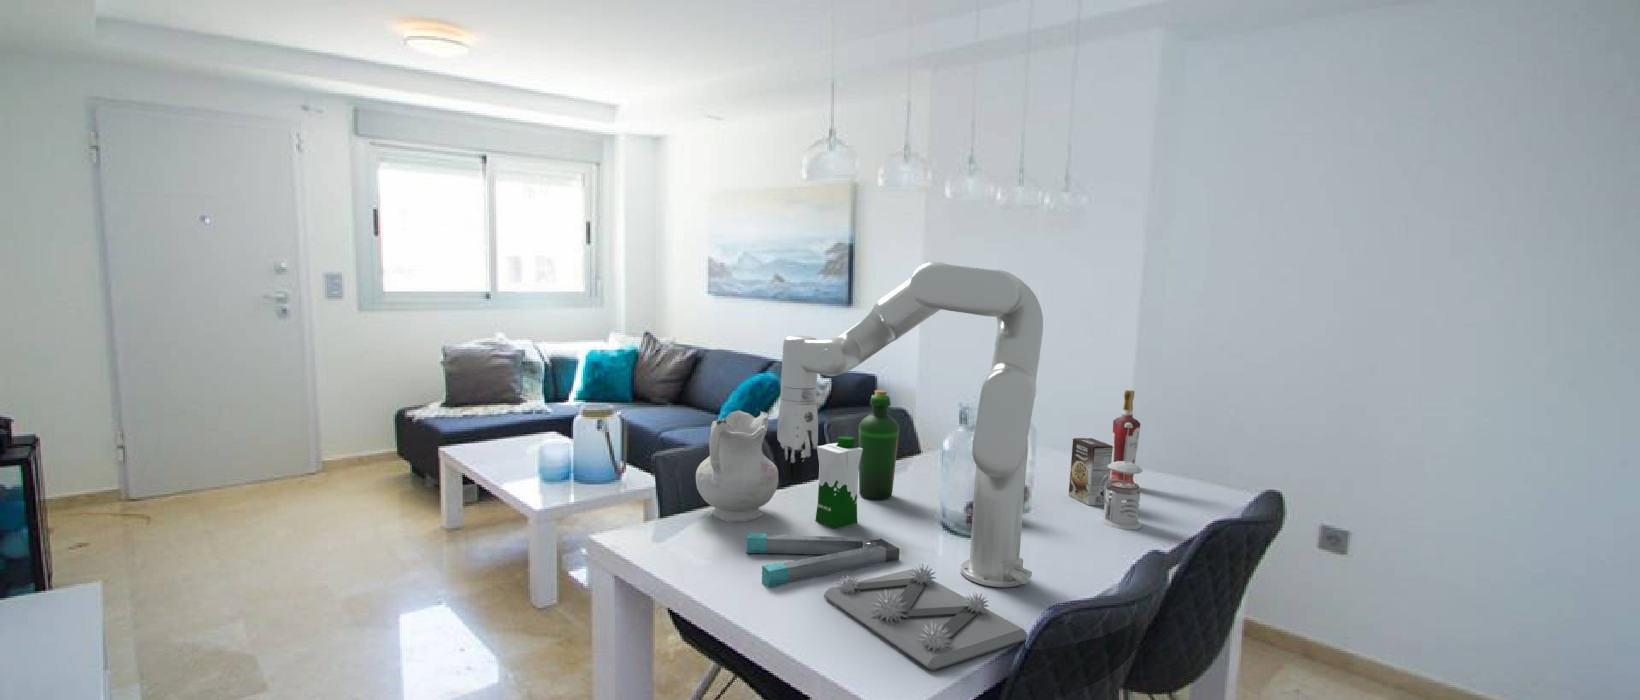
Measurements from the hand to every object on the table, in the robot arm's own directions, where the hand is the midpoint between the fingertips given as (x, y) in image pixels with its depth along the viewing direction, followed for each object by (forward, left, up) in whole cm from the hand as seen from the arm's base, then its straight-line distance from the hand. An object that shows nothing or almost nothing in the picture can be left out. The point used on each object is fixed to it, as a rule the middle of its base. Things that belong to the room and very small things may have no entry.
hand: (793, 479), depth 162 cm
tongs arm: (-8, 0, -14) cm, 16 cm away
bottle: (+20, -37, -14) cm, 45 cm away
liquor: (-2, -109, -14) cm, 110 cm away
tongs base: (-15, 0, -14) cm, 21 cm away
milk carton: (+7, -16, -14) cm, 23 cm away
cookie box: (-7, -88, -14) cm, 90 cm away
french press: (-23, -79, -14) cm, 84 cm away
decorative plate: (-41, -2, -15) cm, 44 cm away
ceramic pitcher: (+22, +3, -14) cm, 26 cm away
